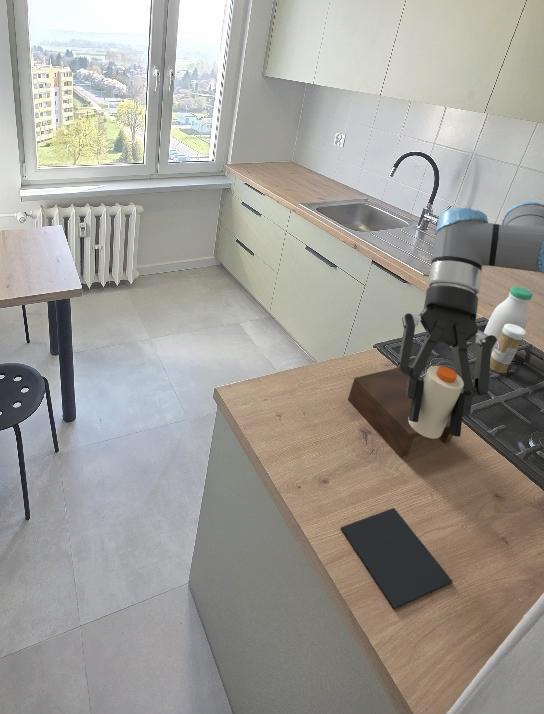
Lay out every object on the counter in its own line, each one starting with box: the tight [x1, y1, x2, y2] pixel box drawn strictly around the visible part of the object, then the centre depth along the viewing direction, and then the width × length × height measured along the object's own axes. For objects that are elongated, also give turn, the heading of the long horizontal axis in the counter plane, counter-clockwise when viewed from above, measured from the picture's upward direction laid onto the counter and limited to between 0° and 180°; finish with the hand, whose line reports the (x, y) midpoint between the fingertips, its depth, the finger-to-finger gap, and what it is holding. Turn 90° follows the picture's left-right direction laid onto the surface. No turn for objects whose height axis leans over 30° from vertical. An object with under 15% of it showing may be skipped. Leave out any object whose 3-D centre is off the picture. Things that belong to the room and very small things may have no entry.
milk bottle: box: [483, 286, 533, 353], centre depth 117 cm, size 8×8×20 cm
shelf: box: [347, 367, 454, 458], centre depth 95 cm, size 16×14×7 cm
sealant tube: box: [408, 365, 464, 440], centre depth 69 cm, size 5×5×12 cm
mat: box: [340, 507, 453, 610], centre depth 71 cm, size 12×12×1 cm
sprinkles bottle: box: [490, 324, 527, 374], centre depth 111 cm, size 5×5×14 cm
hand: (433, 427), depth 67 cm, fingers closed on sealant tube, 5 cm apart
